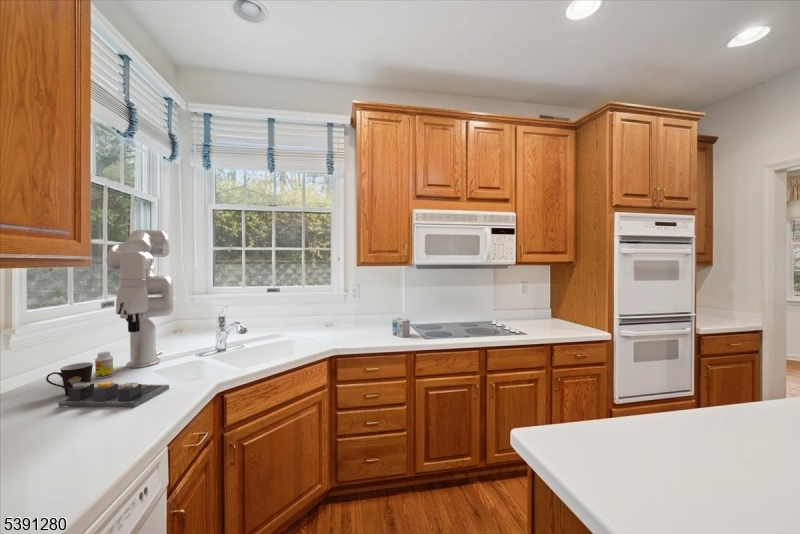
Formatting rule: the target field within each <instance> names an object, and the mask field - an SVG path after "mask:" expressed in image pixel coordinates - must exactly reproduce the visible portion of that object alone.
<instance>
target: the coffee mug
mask: <svg viewBox="0 0 800 534" xmlns="http://www.w3.org/2000/svg"><path fill="white" fill-rule="evenodd" d="M93 366H94V363H93V362H88V361H87V362H76V363H72V364H68V365H64V366H62V367H60V372H58V371H54V372H51V373H49V374H47V375H46V378H45V381H46V382H47V383H49V384H50V385H53V386H55V387H60V388H62V389H64V394H65V396H66V395H68V396H67V397H69V389H70V388H73V384H76V383H78V382H90V383H92V381H91V380H92V372H93ZM51 375H58V376H59V377H61V379H62V384H58V383H55V382H53V381H50V379H49V377H50V376H51Z"/></svg>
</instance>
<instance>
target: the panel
mask: <svg viewBox="0 0 800 534" xmlns="http://www.w3.org/2000/svg"><path fill="white" fill-rule="evenodd" d="M117 384H118V395H116V396H114V397H112V398H110V399H108V400H106V401H93V389H94V388H97V386H95V383H91V382H78V383H76V384H73V388H70V389H69V396H68V398H65V399H64V400H61V401H59V402H57V403H58V407H59V406H68V407H67V408H136V407H139V406H140V405H142V404H144V403H145V401H146V402H148V401H149V400H151V399H153V398H154V396H155V397H157V396H159V395H161V394H162V393H164V392H166V391H168V390H170V384H161V383H160V384H157V383H156V384H154V383H151V384H148V383H147V384H142V383H139V382H125V383H117ZM167 389H168V390H167ZM165 390H166V391H165ZM163 391H164V392H163ZM161 392H162V393H161ZM158 394H159V395H158ZM156 395H157V396H156ZM152 397H153V398H152ZM150 398H151V399H150Z"/></svg>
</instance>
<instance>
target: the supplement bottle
mask: <svg viewBox="0 0 800 534" xmlns="http://www.w3.org/2000/svg"><path fill="white" fill-rule="evenodd" d="M94 360H95V361H94V364H95V378H96V379H100V380H101V379H107V378H109V377H112V376H113V375H114V357H113V356H112V355H111V351H101V352H98V353H97V357H96V358H95V359H94Z"/></svg>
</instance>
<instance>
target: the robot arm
mask: <svg viewBox="0 0 800 534" xmlns="http://www.w3.org/2000/svg"><path fill="white" fill-rule="evenodd" d="M170 252H171V246H170V238H169V236H168V234H167V233H166V232H165V231H163V230H159V229H158V230H155V229H153V230H152V229H136V230H133V231H131V233H130V234H129V236H128V239H127V240H125V241H123V242H120V243H117V244H114V245H112V246H110V248H109V250H108V253H107V255H106V258H105V259H106V261H105V262H106V265H107V267H108V268H109V269H110V270H112V271H119V272H120V273H119V279H120V280H119V281H120V283H119V284H120V285H119V286H120V288H118V291H117V295H116V300H115V301H116V302H115V303H116V304H115V313H116V315H119V318H120V319H125V320H126V321H125V322H127V331H128V333H129V335H130V336H129V340H130V341H129V342H130V343H129V344H130V345H129V346H130V349H129V350H130V352H129V353H130V361H128V362H127V363H126V367H127V368H128V369H129V368H131V369H138V368H144V367H150V366H154V365H156V364H159V363H160V362H161V359H160V358H159V357H158V356H160V355H162V354H163V351H162V350H158V351H157V348H156V347H157V343H156V342H157V341H156V340H157V339H156V338H157V337H156V336H157V334H156V333H157V331H156V330H157V329H156V325H155V323H154V322H153V320H151V319H150V318H156V317H157V318H158V317H168V316H171V315H172V314H173V311H174V286H173V285H174V284H173V280H172V278H171V277H170V276H168V275H155V266H154V258H165V257H168V256H169V254H170Z"/></svg>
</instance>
